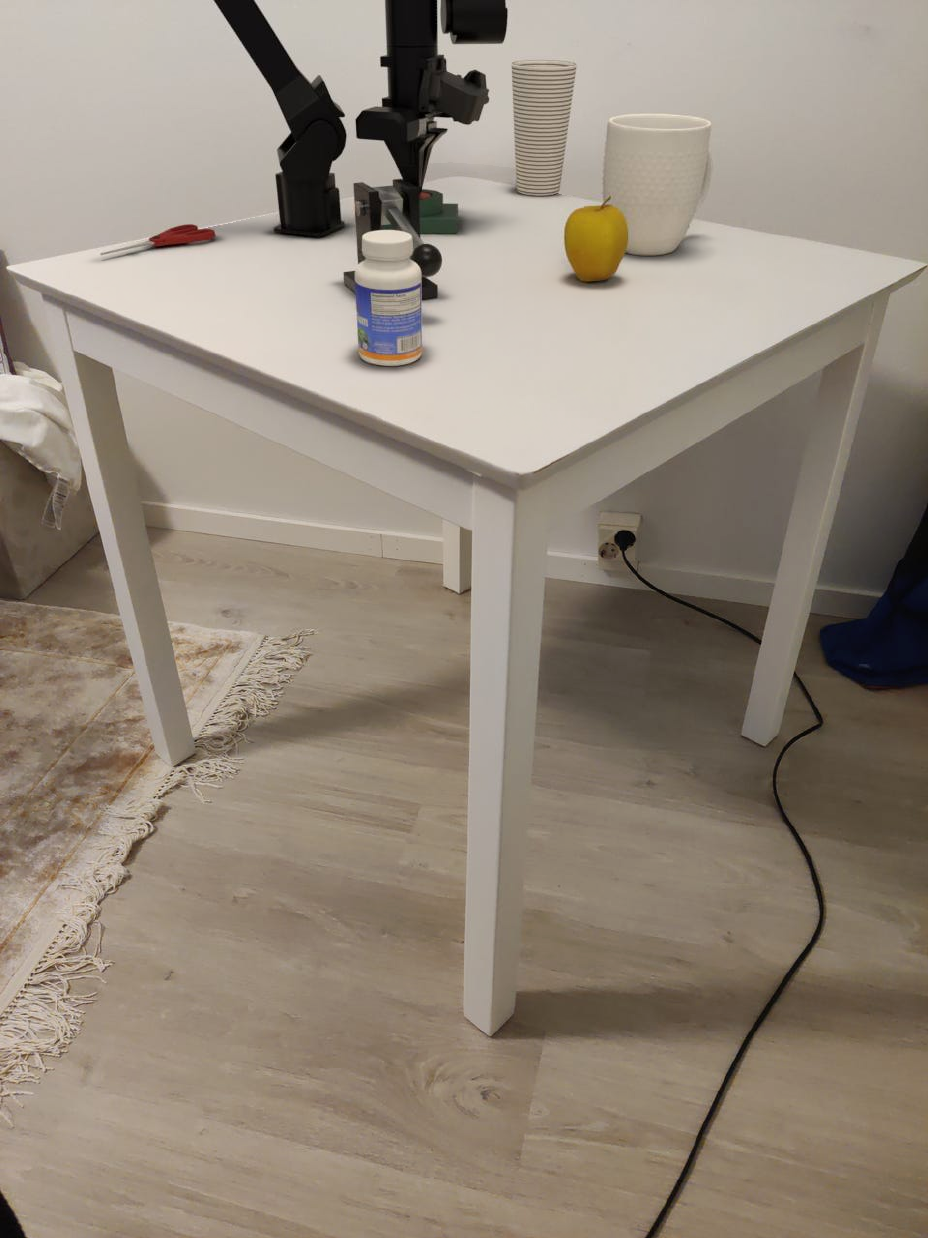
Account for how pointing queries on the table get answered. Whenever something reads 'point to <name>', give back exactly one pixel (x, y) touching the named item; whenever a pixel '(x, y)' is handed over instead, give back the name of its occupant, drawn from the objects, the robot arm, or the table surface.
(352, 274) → the bracket
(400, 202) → the lever
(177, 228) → the scissors
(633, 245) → the mug
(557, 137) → the cup
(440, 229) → the button box
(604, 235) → the apple
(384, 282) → the pill bottle
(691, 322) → the table surface
